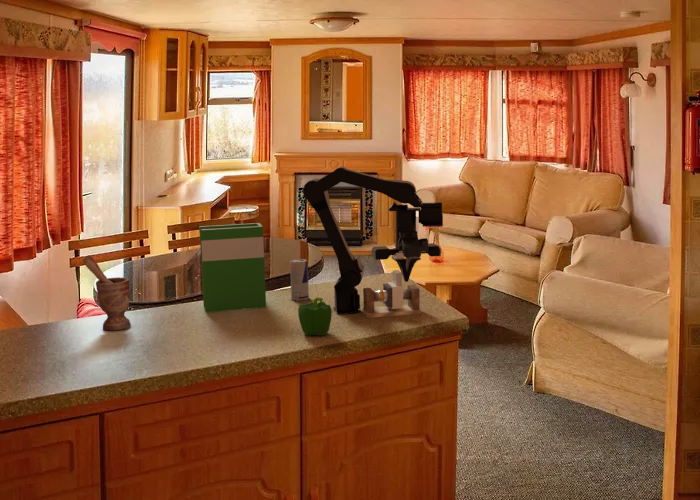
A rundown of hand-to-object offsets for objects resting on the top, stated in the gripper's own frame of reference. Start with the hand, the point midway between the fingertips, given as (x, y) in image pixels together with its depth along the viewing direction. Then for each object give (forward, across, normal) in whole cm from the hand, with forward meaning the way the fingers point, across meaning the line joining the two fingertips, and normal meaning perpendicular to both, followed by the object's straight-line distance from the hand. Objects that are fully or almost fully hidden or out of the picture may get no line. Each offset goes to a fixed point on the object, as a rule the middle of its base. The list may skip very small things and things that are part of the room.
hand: (406, 281), depth 218 cm
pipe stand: (+9, -4, 0) cm, 10 cm away
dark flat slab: (+6, -5, 0) cm, 8 cm away
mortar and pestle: (+9, -81, +5) cm, 82 cm away
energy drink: (+9, -27, +23) cm, 37 cm away
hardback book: (+9, -47, +19) cm, 52 cm away
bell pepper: (+9, -28, -15) cm, 33 cm away
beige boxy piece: (+7, -3, 0) cm, 8 cm away
